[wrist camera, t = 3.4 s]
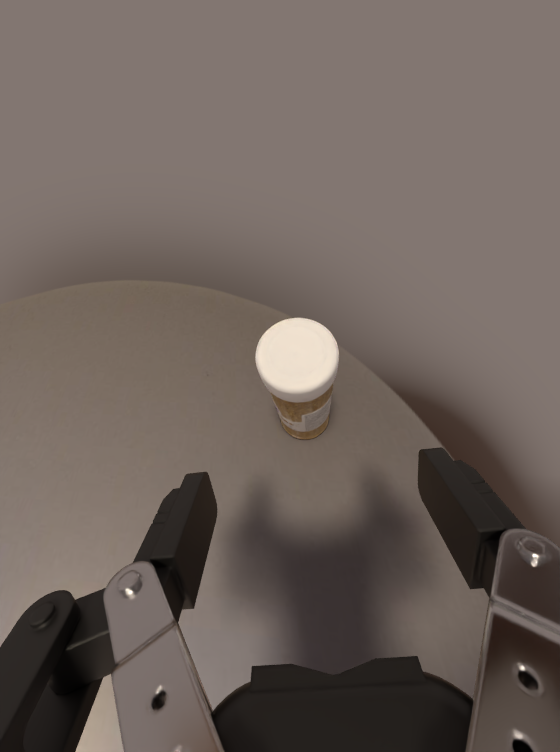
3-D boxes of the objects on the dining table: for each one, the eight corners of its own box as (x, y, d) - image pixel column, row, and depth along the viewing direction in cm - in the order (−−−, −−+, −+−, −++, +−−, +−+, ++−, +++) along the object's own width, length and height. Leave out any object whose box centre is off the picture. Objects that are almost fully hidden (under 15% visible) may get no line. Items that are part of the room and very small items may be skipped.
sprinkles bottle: (271, 409, 29) (238, 341, 17) (311, 384, 30) (308, 300, 18) (297, 451, 28) (282, 409, 15) (340, 423, 28) (357, 361, 16)
